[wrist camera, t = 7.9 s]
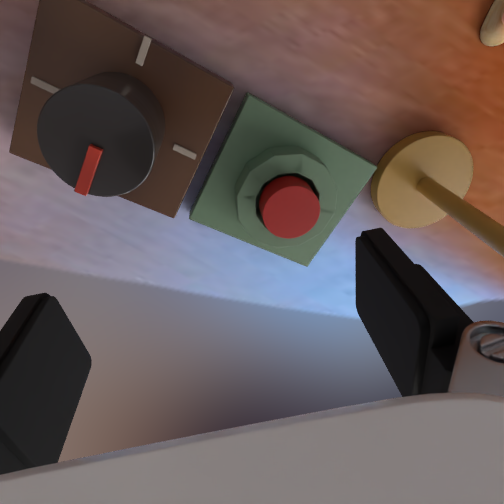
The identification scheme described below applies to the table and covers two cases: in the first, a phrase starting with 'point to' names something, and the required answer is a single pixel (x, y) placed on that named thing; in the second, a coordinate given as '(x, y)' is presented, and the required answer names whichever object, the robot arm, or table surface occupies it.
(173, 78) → the dimmer panel
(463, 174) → the desk lamp
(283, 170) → the switch base
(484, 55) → the table surface
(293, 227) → the lamp switch
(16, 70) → the table surface
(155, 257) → the table surface
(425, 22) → the table surface
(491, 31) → the grandmother figurine
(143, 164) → the dimmer knob
